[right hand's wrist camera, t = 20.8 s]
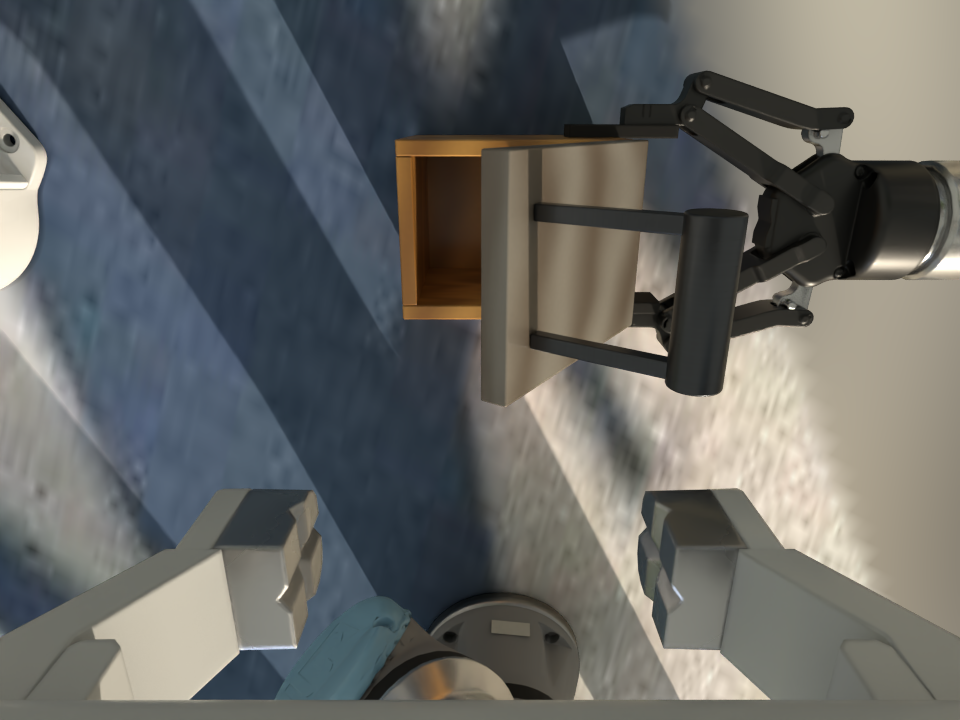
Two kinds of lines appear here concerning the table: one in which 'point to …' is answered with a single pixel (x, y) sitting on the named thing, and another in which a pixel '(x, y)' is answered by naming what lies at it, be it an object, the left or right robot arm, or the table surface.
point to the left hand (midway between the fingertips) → (562, 221)
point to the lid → (594, 269)
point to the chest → (446, 219)
